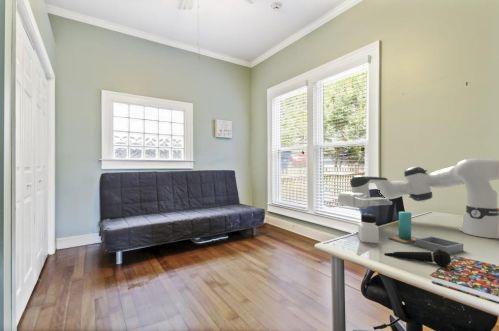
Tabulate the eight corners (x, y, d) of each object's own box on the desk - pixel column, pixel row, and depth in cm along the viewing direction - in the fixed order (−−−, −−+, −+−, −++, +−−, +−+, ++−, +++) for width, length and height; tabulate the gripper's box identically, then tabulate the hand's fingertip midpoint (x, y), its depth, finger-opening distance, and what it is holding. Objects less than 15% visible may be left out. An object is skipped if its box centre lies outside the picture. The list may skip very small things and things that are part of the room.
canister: (403, 236, 117) (403, 211, 117) (413, 239, 112) (413, 213, 112) (396, 237, 115) (396, 212, 115) (406, 240, 110) (406, 213, 110)
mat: (404, 236, 120) (404, 234, 120) (421, 240, 112) (421, 239, 112) (388, 239, 115) (388, 237, 115) (405, 244, 107) (405, 242, 107)
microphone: (385, 265, 92) (453, 270, 81) (383, 251, 91) (451, 255, 80) (385, 256, 96) (450, 260, 86) (383, 243, 95) (448, 246, 85)
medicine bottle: (379, 243, 108) (379, 216, 108) (361, 242, 109) (362, 215, 109) (374, 238, 115) (374, 213, 115) (358, 237, 116) (358, 212, 116)
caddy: (431, 242, 110) (431, 236, 110) (463, 250, 100) (463, 243, 100) (415, 245, 105) (415, 239, 105) (446, 254, 95) (446, 247, 95)
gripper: (375, 205, 141) (398, 208, 129) (349, 207, 132) (371, 210, 120) (374, 194, 141) (398, 196, 129) (349, 195, 133) (371, 198, 120)
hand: (385, 203), depth 124 cm, fingers open, 8 cm apart
